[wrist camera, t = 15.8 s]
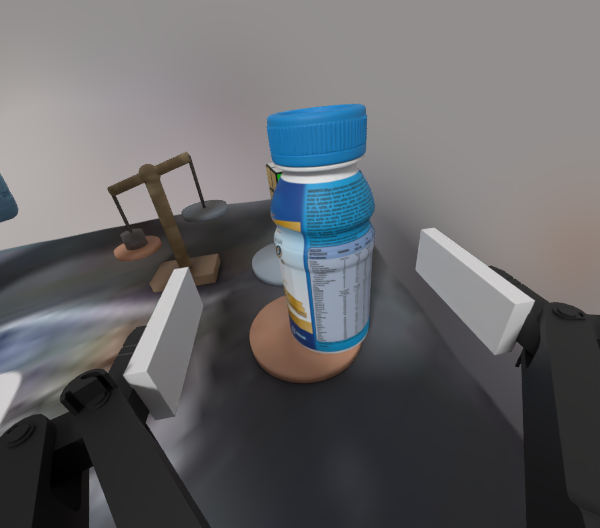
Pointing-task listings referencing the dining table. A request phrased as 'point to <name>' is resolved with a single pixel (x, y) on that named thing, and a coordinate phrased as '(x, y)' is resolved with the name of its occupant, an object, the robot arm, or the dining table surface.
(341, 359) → the dish terracotta
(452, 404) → the dining table surface
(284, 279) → the beverage bottle
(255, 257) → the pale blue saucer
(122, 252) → the balance
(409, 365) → the dining table surface
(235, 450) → the dining table surface
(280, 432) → the dining table surface
